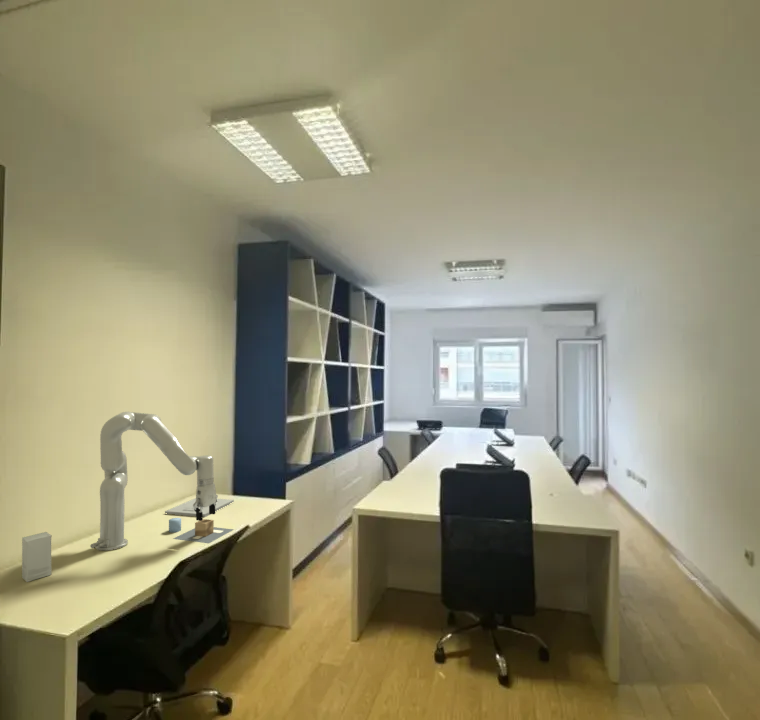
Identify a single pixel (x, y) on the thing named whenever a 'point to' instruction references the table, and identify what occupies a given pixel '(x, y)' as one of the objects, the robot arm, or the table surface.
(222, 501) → the award plaque
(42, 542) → the skincare box
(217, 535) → the letter mat
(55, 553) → the table surface
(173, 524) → the blue canister
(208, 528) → the oak block
